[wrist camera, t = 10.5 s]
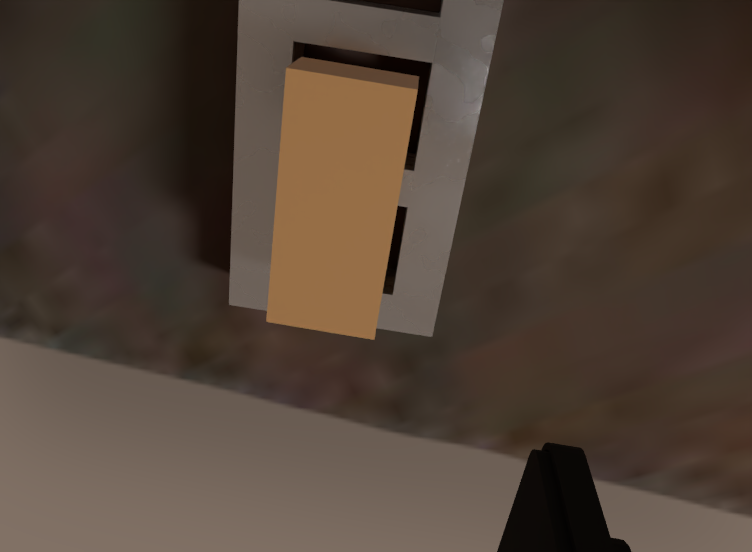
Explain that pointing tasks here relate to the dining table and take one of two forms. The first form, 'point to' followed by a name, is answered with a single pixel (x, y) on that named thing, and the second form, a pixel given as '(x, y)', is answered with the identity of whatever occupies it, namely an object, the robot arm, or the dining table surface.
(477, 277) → the dining table surface
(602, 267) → the dining table surface
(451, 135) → the grey slotted tray
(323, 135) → the tan rectangular block
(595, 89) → the dining table surface
